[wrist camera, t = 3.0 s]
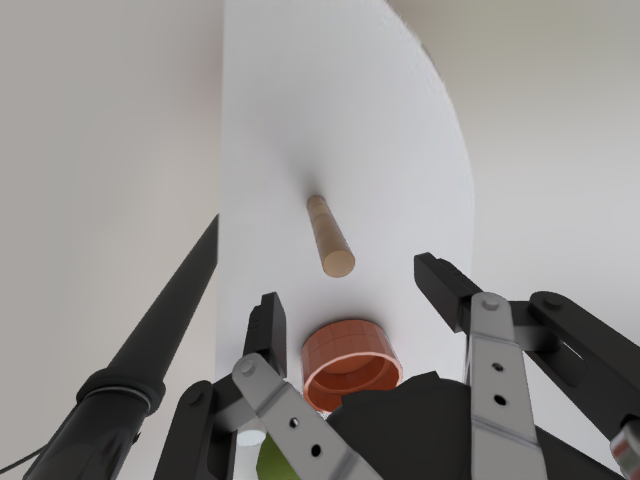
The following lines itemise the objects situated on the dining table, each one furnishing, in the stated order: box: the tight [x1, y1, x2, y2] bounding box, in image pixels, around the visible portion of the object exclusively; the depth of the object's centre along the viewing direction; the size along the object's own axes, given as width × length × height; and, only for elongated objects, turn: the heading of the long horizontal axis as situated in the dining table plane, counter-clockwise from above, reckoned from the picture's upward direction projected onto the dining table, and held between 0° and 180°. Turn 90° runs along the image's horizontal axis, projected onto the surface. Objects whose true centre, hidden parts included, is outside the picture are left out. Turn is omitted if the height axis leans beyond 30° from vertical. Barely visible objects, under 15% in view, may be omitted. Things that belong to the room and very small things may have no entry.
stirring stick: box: [307, 196, 355, 278], centre depth 20 cm, size 2×2×12 cm
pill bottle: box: [237, 416, 266, 446], centre depth 34 cm, size 5×5×8 cm
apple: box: [256, 431, 300, 480], centre depth 40 cm, size 11×10×10 cm
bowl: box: [301, 320, 403, 414], centre depth 35 cm, size 14×14×6 cm
